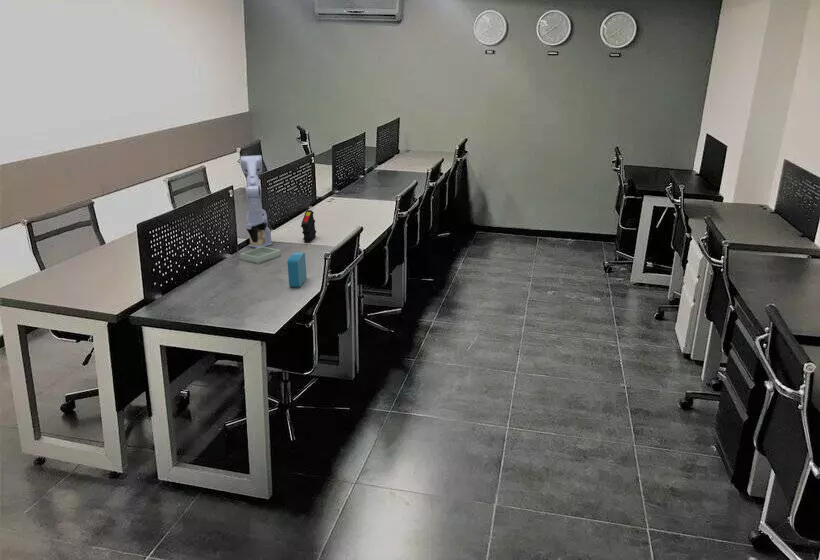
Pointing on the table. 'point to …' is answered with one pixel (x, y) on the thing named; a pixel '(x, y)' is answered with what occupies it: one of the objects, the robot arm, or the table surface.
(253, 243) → the birch block
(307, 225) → the black ridged block
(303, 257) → the data package
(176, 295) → the table surface
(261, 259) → the sage tray
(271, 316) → the table surface
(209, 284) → the table surface
